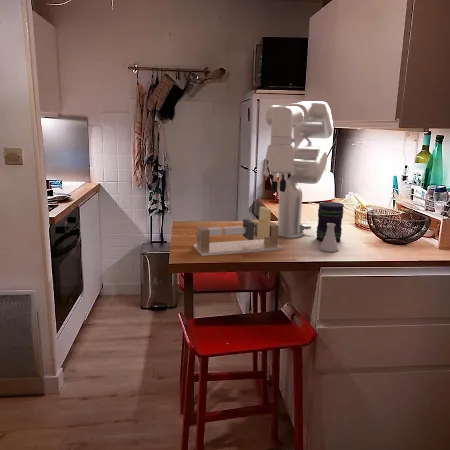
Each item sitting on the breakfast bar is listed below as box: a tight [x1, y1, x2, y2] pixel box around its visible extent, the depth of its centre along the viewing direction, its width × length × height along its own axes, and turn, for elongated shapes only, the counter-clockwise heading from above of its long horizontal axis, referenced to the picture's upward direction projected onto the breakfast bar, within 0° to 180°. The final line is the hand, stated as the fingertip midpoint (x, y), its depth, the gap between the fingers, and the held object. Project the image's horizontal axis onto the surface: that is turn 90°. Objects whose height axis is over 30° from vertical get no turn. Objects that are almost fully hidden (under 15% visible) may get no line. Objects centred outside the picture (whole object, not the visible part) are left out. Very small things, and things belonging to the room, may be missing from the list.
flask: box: [319, 223, 339, 253], centre depth 166 cm, size 7×7×10 cm
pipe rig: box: [193, 221, 283, 257], centre depth 165 cm, size 31×12×8 cm, turn 108°
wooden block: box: [251, 206, 272, 239], centre depth 166 cm, size 5×6×11 cm
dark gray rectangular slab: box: [242, 218, 255, 240], centre depth 165 cm, size 2×6×6 cm, turn 19°
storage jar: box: [315, 201, 345, 244], centre depth 178 cm, size 10×10×15 cm
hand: (278, 191), depth 166 cm, fingers closed
